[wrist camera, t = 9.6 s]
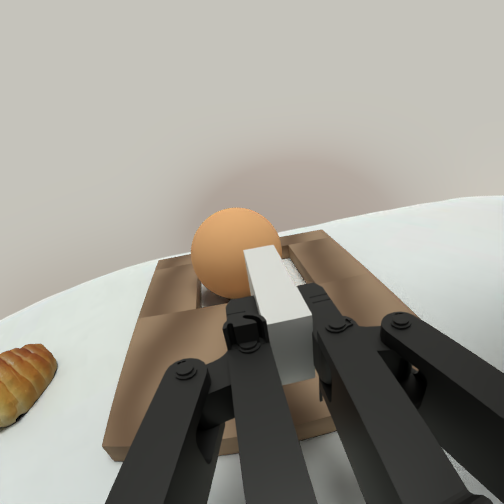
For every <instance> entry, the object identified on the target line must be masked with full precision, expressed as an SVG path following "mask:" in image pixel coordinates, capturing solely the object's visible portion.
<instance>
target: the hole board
mask: <svg viewBox="0 0 504 504" xmlns="http://www.w3.org/2000/svg"><path fill="white" fill-rule="evenodd" d="M279 238H280V242H281V247H282V259H285V258H290V259H291V260H292V262H293V263H294V265H295V266H296V268H297V269H298V271H299V272H300V274H301V275H302V277H303V278H304V280H305V281H306V283H307V284H309V283H316V284H318V285H320V286H322V287H323V288H324V290H325V291H326V293H327V295H328V296H329V297H330V299H331V300H332V301H333V303H334V304H335V306H336V307H337V309H338V310H339V311H340V313H341V314H342V316H347V317H350V318H352V319H353V320H354V321H355V322H356V323H357V324H358V325H359V326H365V327H369V326H381V321H382V319H383V317H384V316H386V315H387V314H390V313H393V312H407V313H410V314H413V315H415V316H416V317H418V316H417V315H416V314H415V313H414V312H413V311H412V310H411V309H410V308H409V307H408V306H406V305H405V304H404V303H403V302H402V301H401V300H400V299H399V298H398V297H397V296H396V295H395V294H394V293H393V292H392V291H390V290H389V289H388V288H387V287H386V286H385V285H384V284H383V283H382V282H381V281H380V280H379V279H377V278H376V277H375V276H374V275H373V274H372V273H371V272H370V271H369V270H368V269H366V268H365V267H364V266H363V265H362V264H361V263H360V262H359V261H357V260H356V259H355V258H354V257H353V256H352V255H351V254H350V253H348V252H347V251H346V250H345V249H344V248H343V247H342V246H340V245H339V244H338V243H337V242H336V241H335V240H333V239H332V238H331V237H330V236H329V235H328V234H326V233H325V232H324V231H323V230H317V231H311V232H306V233H300V234H295V235H290V236H284V237H279ZM227 304H228V303H225V304H220V305H214V306H209V307H203V308H200V306H201V281H200V280H199V278H198V277H197V275H196V273H195V271H194V268H193V265H192V261H191V254H189V255H184V256H179V257H174V258H169V259H163V260H159V261H158V264H157V266H156V269H155V272H154V275H153V277H152V280H151V283H150V286H149V288H148V291H147V294H146V297H145V300H144V303H143V305H142V308H141V311H140V314H139V317H138V320H137V323H136V326H135V329H134V332H133V335H132V339H131V342H130V345H129V348H128V351H127V355H126V358H125V361H124V364H123V368H122V371H121V375H120V378H119V382H118V385H117V389H116V392H115V396H114V400H113V403H112V407H111V411H110V415H109V419H108V423H107V427H106V431H105V435H104V439H103V443H102V447H103V448H104V450H105V451H106V452H107V453H108V454H109V456H110V457H111V458H112V459H113V460H114V461H124V459H125V457H126V455H127V453H128V451H129V448H130V446H131V444H132V442H133V440H134V438H135V435H136V433H137V431H138V429H139V427H140V424H141V422H142V420H143V418H144V416H145V414H146V412H147V409H148V407H149V405H150V403H151V401H152V399H153V397H154V395H155V392H156V390H157V388H158V386H159V384H160V382H161V380H162V378H163V376H164V374H165V371H166V370H167V369H168V367H169V366H170V365H172V364H173V363H175V362H176V361H179V360H182V359H186V358H196V359H200V360H201V361H203V362H204V363H205V364H208V363H211V362H213V361H215V360H217V359H219V358H220V357H222V356H223V355H224V354H225V353H226V352H227V346H226V342H225V338H224V334H223V330H222V328H223V324H224V323H225V322H226V321H227V318H226V306H227ZM418 318H419V317H418ZM419 319H420V318H419ZM412 368H414V369H415V370H417V371H419V370H418V369H417V368H416V367H415V366H413V365H412ZM282 386H283V389H284V393H285V396H286V400H287V403H288V406H289V410H290V413H291V417H292V420H293V423H294V427H295V430H296V434H297V437H298V440H299V441H300V440H304V439H308V438H312V437H315V436H319V435H323V434H326V433H330V432H333V431H336V430H337V429H336V427H335V424H334V422H333V420H332V417H331V415H330V412H329V410H328V407H327V405H326V402H325V400H324V398H323V401H321V402H320V400H319V376H318V373H317V371H316V369H315V378H312V379H308V380H304V381H299V382H295V383H290V384H286V385H282ZM234 453H239V448H238V440H237V432H236V423H235V418H233V419H231V420H229V421H226V422H225V429H224V433H223V438H222V442H221V446H220V450H219V455H227V454H234ZM219 455H218V456H219Z"/></svg>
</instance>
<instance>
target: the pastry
mask: <svg viewBox="0 0 504 504" xmlns="http://www.w3.org/2000/svg"><path fill="white" fill-rule="evenodd" d="M56 369H57V363H56V359H55V358H54V357H53V355H52V353H51V352H49V351H48V350H47V349H46V348H45V347H44V346H43V345H42V344H28V345H25V346H23V347H22V348H21V349H19V348H14V349H12V350H10V351H6V352H3V353H1V354H0V427H7V426H10V425H11V424H13V423H15V422H16V418H17V417H18V416H19V415H21V414H23V413H26V412H27V411H28V410H29V409H30V408H31V407H32V406H33V405H34V402H35V401H36V400H37V399H38V398H39V397H40V395H41V394H42V393H43V391H44V390H45V389H46V388H47V386H48V385H49V383H50V382H51V381H52V379H53V377H54V373H55V371H56Z"/></svg>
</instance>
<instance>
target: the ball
mask: <svg viewBox="0 0 504 504" xmlns="http://www.w3.org/2000/svg"><path fill="white" fill-rule="evenodd" d="M268 245H274V247H275V248H276V250H277V252H278V254H279V255H280V257H281V259H282V247H281V242H280V238H279V236H278V234H277V232H276V230H275V229H274V227H273V226H272V224H271V223H270V222H269V221H268V220H267V219H266V218H265V217H263V216H261V215H260V214H259V213H257V212H254V211H252V210H249V209H244V208H228V209H224V210H221V211H218V212H216V213H214V214H213V215H211V216H210V217H208V218H207V219H206V220H205V221H204V222H203V223H202V225H200V227H199V229H198V230H197V232H196V234H195V236H194V239H193V242H192V247H191V261H192V265H193V268H194V271H195V273H196V275H197V277H198V278H199V280H200V281H201V282H202V284H203V285H204V286H205V287H206V288H208V289H209V290H210V291H212V292H213V293H215V294H217V295H219V296H222V297H225V298H231V299H237V298H243V297H248V296H251V292H250V287H249V281H248V275H247V269H246V263H245V258H244V252H243V250H247V249H252V248H257V247H263V246H268Z"/></svg>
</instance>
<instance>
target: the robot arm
mask: <svg viewBox="0 0 504 504" xmlns="http://www.w3.org/2000/svg"><path fill="white" fill-rule="evenodd" d="M243 252H244V258H245V263H246V269H247V275H248V281H249V287H250V292H251V296H248V297H243V298H237V299H232V300H230V301H229V302H228V304H227V306H226V318H227V321H226V322H225V323H224V324H223V328H222V330H223V334H224V338H225V342H226V346H227V352H226V353H225V354H224V355H223V356H222V357H220V358H219V359H217V360H215V361H213V362H211V363H208V364H205V363H204V362H203V361H201V360H200V359H196V358H186V359H182V360H179V361H176V362H175V363H173V364H172V365H170V366H169V367H168V369H167V370H166V371H165V374H164V376H163V378H162V380H161V382H160V384H159V386H158V388H157V390H156V392H155V395H154V397H153V399H152V401H151V403H150V405H149V407H148V409H147V412H146V414H145V416H144V418H143V420H142V422H141V424H140V427H139V429H138V431H137V433H136V435H135V438H134V440H133V442H132V444H131V446H130V448H129V451H128V453H127V455H126V457H125V459H124V462H123V464H122V466H121V468H120V471H119V473H118V475H117V477H116V480H115V482H114V484H113V486H112V489H111V491H110V493H109V495H108V498H107V500H106V502H105V504H207V501H208V497H209V493H210V489H211V484H212V480H213V476H214V472H215V467H216V463H217V459H218V455H219V450H220V446H221V442H222V438H223V433H224V429H225V422H226V421H229V420H231V419H233V418H235V423H236V432H237V440H238V448H239V456H240V464H241V471H242V479H243V486H244V493H245V500H246V504H317V500H316V497H315V494H314V490H313V487H312V484H311V480H310V477H309V474H308V470H307V467H306V464H305V460H304V457H303V454H302V450H301V447H300V444H299V440H298V437H297V434H296V430H295V427H294V423H293V420H292V417H291V413H290V410H289V406H288V403H287V400H286V396H285V393H284V389H283V386H282V385H286V384H290V383H295V382H299V381H304V380H308V379H312V378H315V369H316V371H317V373H318V376H319V400H320V402H321V401H323V398H324V400H325V402H326V405H327V407H328V410H329V412H330V415H331V417H332V420H333V422H334V424H335V427H336V429H337V432H338V434H339V437H340V439H341V442H342V444H343V447H344V449H345V452H346V454H347V457H348V459H349V461H350V464H351V466H352V469H353V471H354V474H355V476H356V479H357V481H358V484H359V486H360V489H361V491H362V494H363V496H364V499H365V501H366V504H493V503H492V502H491V500H490V499H489V498H487V497H485V496H484V495H475V494H472V493H470V492H469V491H468V490H467V488H466V487H465V485H464V483H463V482H462V480H461V478H460V477H459V475H458V473H457V472H456V470H455V469H454V467H453V465H452V464H451V462H450V461H449V459H448V457H447V456H446V454H445V453H444V451H443V449H444V450H445V451H446V452H447V453H448V454H450V455H451V456H452V457H453V458H454V459H455V460H456V461H457V462H458V463H459V464H460V465H462V466H463V467H464V468H465V469H466V470H467V471H468V472H469V473H470V474H471V475H473V476H474V477H475V478H476V479H477V480H478V481H479V482H480V483H481V484H482V485H484V486H485V487H486V488H487V489H488V490H489V491H490V492H491V493H492V494H493V495H495V496H496V497H497V498H498V499H499V500H500V501H501V502H502V503H503V504H504V373H502V372H501V371H499V370H498V369H496V368H495V367H493V366H492V365H490V364H489V363H487V362H486V361H484V360H483V359H481V358H480V357H478V356H477V355H475V354H474V353H472V352H471V351H469V350H468V349H466V348H465V347H463V346H462V345H460V344H459V343H457V342H455V341H454V340H452V339H451V338H449V337H448V336H446V335H445V334H443V333H441V332H440V331H438V330H437V329H435V328H434V327H432V326H430V325H429V324H427V323H426V322H424V321H423V320H421V319H419V318H418V317H416V316H415V315H413V314H410V313H407V312H393V313H390V314H387V315H386V316H384V317H383V319H382V321H381V326H369V327H365V326H359V325H358V324H357V323H356V322H355V321H354V320H353V319H352V318H350V317H347V316H342V314H341V313H340V311H339V310H338V309H337V307H336V306H335V304H334V303H333V301H332V300H331V299H330V297H329V296H328V295H327V293H326V291H325V290H324V288H323V287H322V286H320V285H318V284H316V283H309V284H304V285H299V286H296V284H295V283H294V281H293V279H292V277H291V275H290V273H289V272H288V270H287V268H286V266H285V264H284V263H283V261H282V259H281V257H280V255H279V254H278V252H277V250H276V248H275V247H274V245H268V246H263V247H257V248H252V249H247V250H243ZM412 365H413V366H415V367H416V368H417V369H418V370H419V371H417V370H415V369H414V368H412ZM441 447H442V448H443V449H442V448H441Z"/></svg>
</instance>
